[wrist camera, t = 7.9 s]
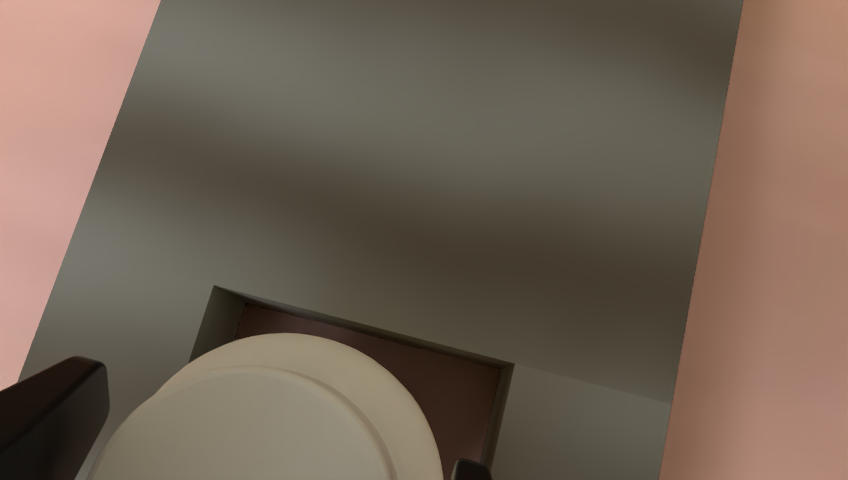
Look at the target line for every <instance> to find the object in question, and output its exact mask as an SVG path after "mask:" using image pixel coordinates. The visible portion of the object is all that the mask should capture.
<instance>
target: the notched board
mask: <svg viewBox="0 0 848 480" xmlns="http://www.w3.org/2000/svg"><path fill="white" fill-rule="evenodd" d="M742 6H743V0H161V2H160V5H159V7H158V10H157V13H156V15H155V18H154V20H153V23H152V26H151V28H150V31H149V34H148V36H147V39H146V42H145V44H144V47H143V50H142V52H141V55H140V58H139V60H138V63H137V66H136V68H135V71H134V74H133V76H132V79H131V82H130V84H129V87H128V90H127V92H126V95H125V98H124V100H123V103H122V106H121V108H120V111H119V113H118V116H117V119H116V121H115V124H114V127H113V129H112V132H111V135H110V137H109V140H108V143H107V145H106V148H105V151H104V153H103V156H102V159H101V161H100V164H99V167H98V169H97V172H96V175H95V177H94V180H93V183H92V185H91V188H90V191H89V193H88V196H87V198H86V201H85V204H84V206H83V209H82V212H81V214H80V217H79V220H78V222H77V225H76V228H75V230H74V233H73V236H72V238H71V241H70V244H69V246H68V249H67V252H66V254H65V257H64V260H63V262H62V265H61V268H60V270H59V273H58V276H57V278H56V281H55V284H54V286H53V289H52V291H51V294H50V297H49V299H48V302H47V305H46V307H45V310H44V313H43V315H42V318H41V321H40V323H39V326H38V329H37V331H36V334H35V337H34V339H33V342H32V345H31V347H30V350H29V353H28V355H27V358H26V361H25V363H24V366H23V369H22V371H21V374H20V377H19V379H18V382H20V381H22V380H24V379H26V378H28V377H30V376H32V375H34V374H36V373H38V372H40V371H42V370H44V369H46V368H48V367H50V366H52V365H54V364H56V363H58V362H60V361H62V360H64V359H66V358H69V357H72V356H82V357H86V358H90V359H94V360H97V361H101V362H103V363H104V364H105V366H106V367H107V373H108V384H109V396H110V411H109V415H108V418H107V420H106V423H105V425H104V426H103V428H102V430H101V432H100V434H99V436H98V438H97V439H96V441H95V443H94V445H93V447H92V449H91V450H90V452H89V454H88V456H87V458H86V460H85V462H84V463H83V465H82V467H81V469H80V471H79V473H78V474H77V476H76V478H75V480H86V479H87V477H88V475H89V473H90V471H91V469H92V467H93V464H94V462H95V460H96V458H97V456H98V455H99V453H100V451H101V450H102V448H103V446H104V445H105V443H106V442H107V441H108V439H109V438H110V437H111V435H112V434H113V433H114V431H115V430H116V429H117V428H118V426H119V425H120V424H121V423H122V422H123V421H124V420H125V419H126V418H127V417H128V416H129V415H130V414H131V413H132V412H133V411H134V410H135V409H136V408H137V407H139V406H140V405H141V404H142V403H144V402H145V401H146V400H148V399H149V398H150V397H152V396H153V395H154V394H156V392H157V391H158V390H159V389H160V388H161V387H162V386H163V385H164V384H165V383H166V382H167V381H168V380H169V379H170V378H171V377H172V376H174V375H175V374H176V373H177V372H179V371H180V370H181V369H182V368H183V367H185V366H186V365H187V364H189V363H191V362H192V361H194V360H195V359H197V358H199V357H200V356H202V355H204V354H206V353H207V352H209V351H212V350H214V349H216V348H218V347H220V346H223V345H225V344H228V343H230V342H233V341H234V339H235V336H236V333H237V330H238V326H239V323H240V320H241V317H242V314H243V311H244V307H245V304H246V303H249V304H253V305H257V306H260V307H264V308H268V309H272V310H276V311H280V312H283V313H287V314H291V315H295V316H299V317H303V318H306V319H310V320H314V321H318V322H322V323H326V324H329V325H333V326H337V327H341V328H345V329H349V330H352V331H356V332H360V333H364V334H368V335H372V336H375V337H379V338H383V339H387V340H391V341H395V342H398V343H402V344H406V345H410V346H414V347H418V348H421V349H425V350H429V351H433V352H437V353H441V354H444V355H448V356H452V357H456V358H460V359H464V360H467V361H471V362H475V363H479V364H483V365H487V366H490V367H494V368H498V369H501V371H500V376H499V380H498V384H497V389H496V393H495V397H494V402H493V406H492V410H491V415H490V419H489V423H488V428H487V432H486V436H485V441H484V445H483V449H482V454H481V458H480V462H479V463H482V464H485V465H486V466H487V467H488V468H489V470H490V472H491V475H492V478H493V480H658V479H659V473H660V467H661V462H662V456H663V450H664V445H665V439H666V433H667V428H668V422H669V417H670V411H671V405H672V400H673V394H674V388H675V383H676V377H677V372H678V366H679V360H680V355H681V349H682V343H683V338H684V332H685V327H686V321H687V315H688V310H689V304H690V298H691V293H692V287H693V282H694V276H695V270H696V265H697V259H698V253H699V248H700V242H701V236H702V231H703V225H704V220H705V214H706V208H707V203H708V197H709V191H710V186H711V180H712V175H713V169H714V163H715V158H716V152H717V146H718V141H719V135H720V130H721V124H722V118H723V113H724V107H725V101H726V96H727V90H728V84H729V79H730V73H731V68H732V62H733V56H734V51H735V45H736V39H737V34H738V28H739V23H740V17H741V11H742ZM18 382H17V383H18Z"/></svg>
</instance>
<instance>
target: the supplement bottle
mask: <svg viewBox="0 0 848 480" xmlns="http://www.w3.org/2000/svg"><path fill="white" fill-rule="evenodd" d="M86 480H443V472H442V466H441V460H440V456H439V452H438V448H437V445H436V442H435V439H434V436H433V433H432V430H431V428H430V426H429V424H428V422H427V420H426V418H425V416H424V414H423V412H422V410H421V408H420V406H419V405H418V404H417V402H416V401H415V399H414V398H413V396H412V395H411V394H410V393H409V392H408V390H407V389H406V388H405V387H404V386H403V385H402V384H401V383H400V382H399V381H398V380H397V379H396V378H395V377H394V376H393V375H392V374H391V373H390V372H389V371H388V370H386V369H385V368H384V367H383V366H381V365H380V364H379V363H377V362H376V361H375V360H373V359H372V358H370V357H369V356H367V355H365V354H363V353H362V352H360V351H358V350H356V349H354V348H352V347H350V346H347V345H344V344H342V343H339V342H336V341H333V340H330V339H326V338H322V337H318V336H312V335H306V334H297V333H275V334H264V335H257V336H251V337H247V338H243V339H240V340H236V341H233V342H230V343H228V344H225V345H223V346H220V347H218V348H216V349H214V350H212V351H209V352H207V353H206V354H204V355H202V356H200V357H199V358H197V359H195V360H194V361H192V362H191V363H189V364H187V365H186V366H185V367H183V368H182V369H181V370H180V371H179V372H177V373H176V374H175V375H174V376H172V377H171V378H170V379H169V380H168V381H167V382H166V383H165V384H164V385H163V386H162V387H161V388H160V389H159V390H158V391H157V392H156V394H154V395H153V396H152V397H150V398H149V399H148V400H146V401H145V402H144V403H142V404H141V405H140V406H139V407H137V408H136V409H135V410H134V411H133V412H132V413H131V414H130V415H129V416H128V417H127V418H126V419H125V420H124V421H123V422H122V423H121V424H120V425H119V426H118V428H117V429H116V430H115V431H114V433H113V434H112V435H111V437H110V438H109V439H108V441H107V442H106V443H105V445H104V446H103V448H102V450H101V451H100V453H99V455H98V456H97V458H96V460H95V462H94V464H93V467H92V469H91V471H90V473H89V475H88V477H87V479H86Z"/></svg>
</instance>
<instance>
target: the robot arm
mask: <svg viewBox="0 0 848 480" xmlns="http://www.w3.org/2000/svg"><path fill="white" fill-rule="evenodd" d="M109 411H110V396H109V384H108V373H107V367H106V366H105V364H104V363H103V362H101V361H97V360H94V359H90V358H86V357H82V356H72V357H69V358H66V359H64V360H62V361H60V362H58V363H56V364H54V365H52V366H50V367H48V368H46V369H44V370H42V371H40V372H38V373H36V374H34V375H32V376H30V377H28V378H26V379H24V380H22V381H20V382H18V383H16V384H14V385H12V386H10V387H8V388H6V389H4V390H2V391H0V480H75V478H76V476H77V474H78V473H79V471H80V469H81V467H82V465H83V463H84V462H85V460H86V458H87V456H88V454H89V452H90V450H91V449H92V447H93V445H94V443H95V441H96V439H97V438H98V436H99V434H100V432H101V430H102V428H103V426H104V425H105V423H106V420H107V418H108V415H109ZM450 480H493V478H492V475H491V472H490V470H489V468H488V467H487V466H486V465H485V464H482V463H478V462H474V461H471V460H467V459H463V458H462V459H458V460H457V461H456V463H455V466H454V469H453V472H452V476H451V479H450Z"/></svg>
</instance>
